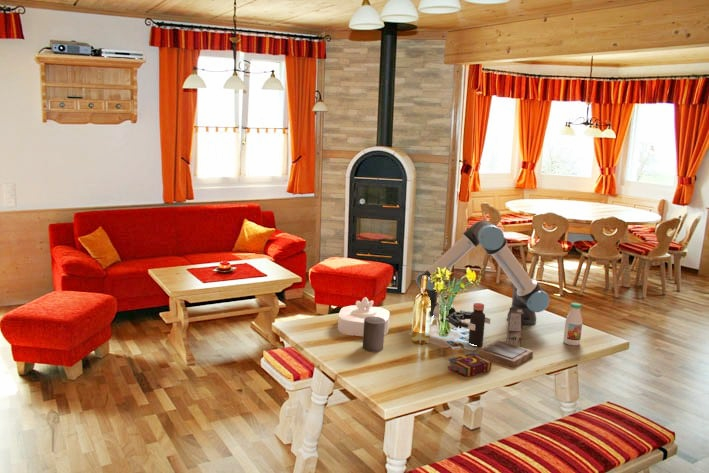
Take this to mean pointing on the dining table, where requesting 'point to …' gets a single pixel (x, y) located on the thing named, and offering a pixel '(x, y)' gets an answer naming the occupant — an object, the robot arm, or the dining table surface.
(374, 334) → the pillar candle
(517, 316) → the coffee box
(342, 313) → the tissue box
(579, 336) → the milk bottle
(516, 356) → the brown flat square board
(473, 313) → the vinegar
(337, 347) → the dining table surface
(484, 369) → the decorative book
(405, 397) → the dining table surface
